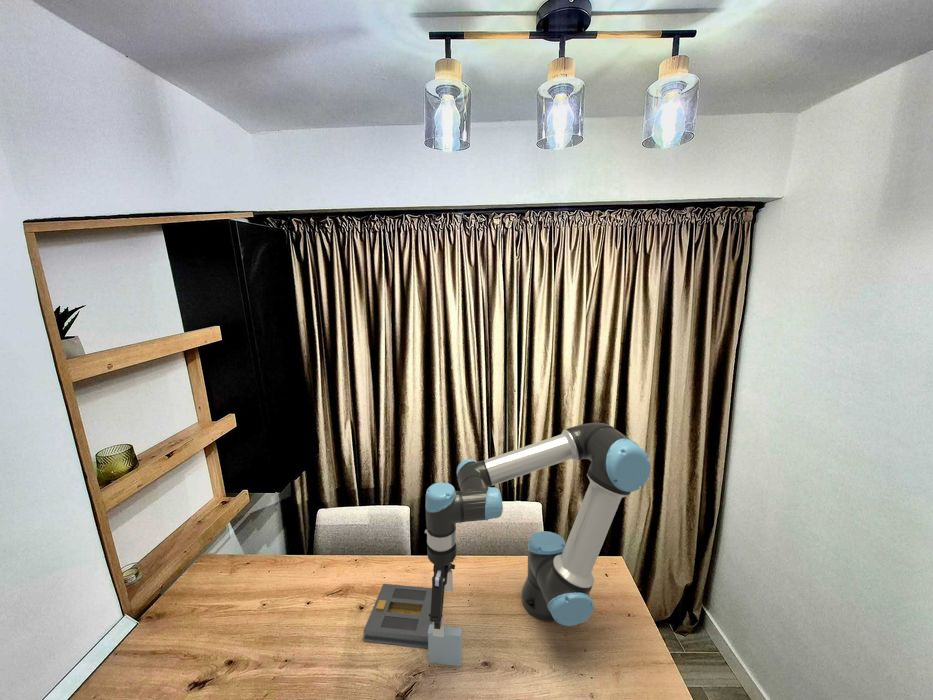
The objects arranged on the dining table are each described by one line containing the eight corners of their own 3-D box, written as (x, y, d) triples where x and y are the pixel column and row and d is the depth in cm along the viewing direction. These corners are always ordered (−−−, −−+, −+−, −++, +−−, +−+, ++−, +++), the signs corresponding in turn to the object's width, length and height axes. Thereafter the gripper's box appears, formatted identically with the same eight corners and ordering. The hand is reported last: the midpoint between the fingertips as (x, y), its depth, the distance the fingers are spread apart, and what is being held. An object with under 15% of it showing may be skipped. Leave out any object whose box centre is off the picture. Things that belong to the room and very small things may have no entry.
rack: (442, 595, 123) (441, 585, 122) (430, 648, 105) (429, 637, 105) (384, 590, 125) (383, 580, 125) (363, 641, 108) (362, 630, 107)
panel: (462, 657, 103) (461, 627, 101) (461, 666, 101) (460, 636, 99) (431, 653, 104) (429, 624, 102) (429, 662, 102) (427, 632, 100)
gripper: (437, 511, 108) (439, 573, 112) (414, 579, 83) (418, 656, 88) (462, 513, 107) (463, 575, 111) (447, 582, 82) (449, 659, 87)
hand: (443, 611), depth 99 cm, fingers open, 13 cm apart
